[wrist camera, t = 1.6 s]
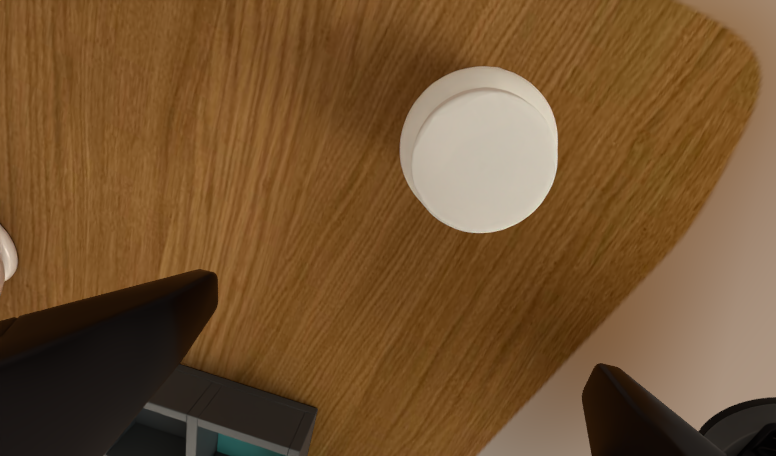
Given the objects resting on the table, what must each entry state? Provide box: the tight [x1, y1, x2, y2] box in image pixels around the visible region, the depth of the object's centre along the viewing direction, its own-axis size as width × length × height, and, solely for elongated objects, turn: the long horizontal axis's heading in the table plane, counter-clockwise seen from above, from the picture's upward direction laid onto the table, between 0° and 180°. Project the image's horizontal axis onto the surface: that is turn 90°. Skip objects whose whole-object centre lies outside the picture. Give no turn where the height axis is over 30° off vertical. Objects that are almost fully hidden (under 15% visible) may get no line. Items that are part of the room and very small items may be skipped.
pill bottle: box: [400, 66, 558, 233], centre depth 15 cm, size 5×5×10 cm
